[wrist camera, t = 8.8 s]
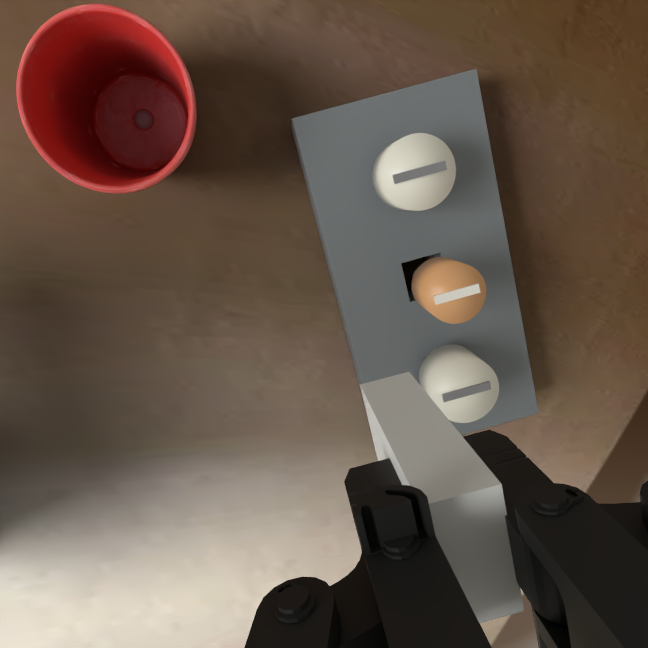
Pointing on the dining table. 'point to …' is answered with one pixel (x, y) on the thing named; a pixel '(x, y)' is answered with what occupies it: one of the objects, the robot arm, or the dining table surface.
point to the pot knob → (449, 289)
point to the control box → (415, 237)
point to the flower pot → (106, 99)
